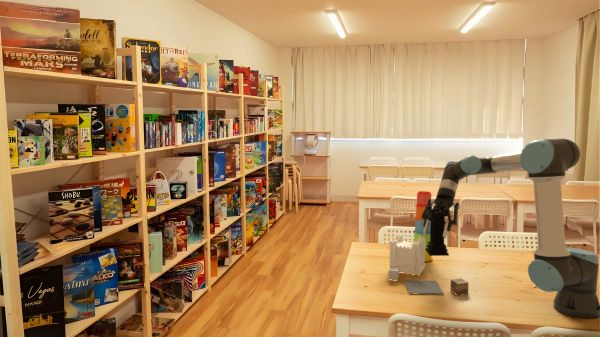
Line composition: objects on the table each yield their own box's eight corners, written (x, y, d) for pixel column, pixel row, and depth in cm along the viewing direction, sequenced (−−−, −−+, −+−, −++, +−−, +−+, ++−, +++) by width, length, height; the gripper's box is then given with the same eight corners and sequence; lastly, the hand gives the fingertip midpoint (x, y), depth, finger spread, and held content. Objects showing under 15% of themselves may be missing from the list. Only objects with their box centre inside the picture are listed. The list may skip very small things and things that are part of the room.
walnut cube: (468, 294, 183) (468, 282, 182) (457, 295, 181) (457, 283, 181) (460, 289, 188) (461, 278, 187) (450, 290, 186) (450, 279, 186)
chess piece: (448, 255, 188) (449, 209, 186) (429, 255, 189) (430, 209, 186) (443, 249, 196) (444, 205, 193) (425, 249, 197) (426, 205, 194)
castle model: (388, 271, 210) (388, 241, 208) (396, 262, 222) (397, 233, 220) (418, 276, 203) (419, 244, 201) (425, 266, 215) (426, 236, 214)
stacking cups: (407, 257, 229) (408, 191, 225) (423, 254, 233) (424, 189, 229) (421, 263, 220) (422, 194, 215) (437, 260, 224) (438, 193, 220)
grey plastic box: (397, 282, 197) (397, 271, 196) (388, 281, 198) (388, 270, 198) (399, 277, 202) (399, 266, 202) (390, 276, 204) (390, 265, 203)
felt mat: (443, 294, 182) (443, 293, 182) (409, 294, 183) (409, 292, 183) (436, 281, 196) (436, 280, 196) (403, 281, 197) (403, 280, 197)
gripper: (472, 198, 196) (460, 243, 185) (426, 194, 208) (413, 236, 197) (469, 188, 191) (457, 234, 180) (422, 185, 203) (409, 227, 192)
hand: (434, 235), depth 188 cm, fingers closed on chess piece, 8 cm apart
